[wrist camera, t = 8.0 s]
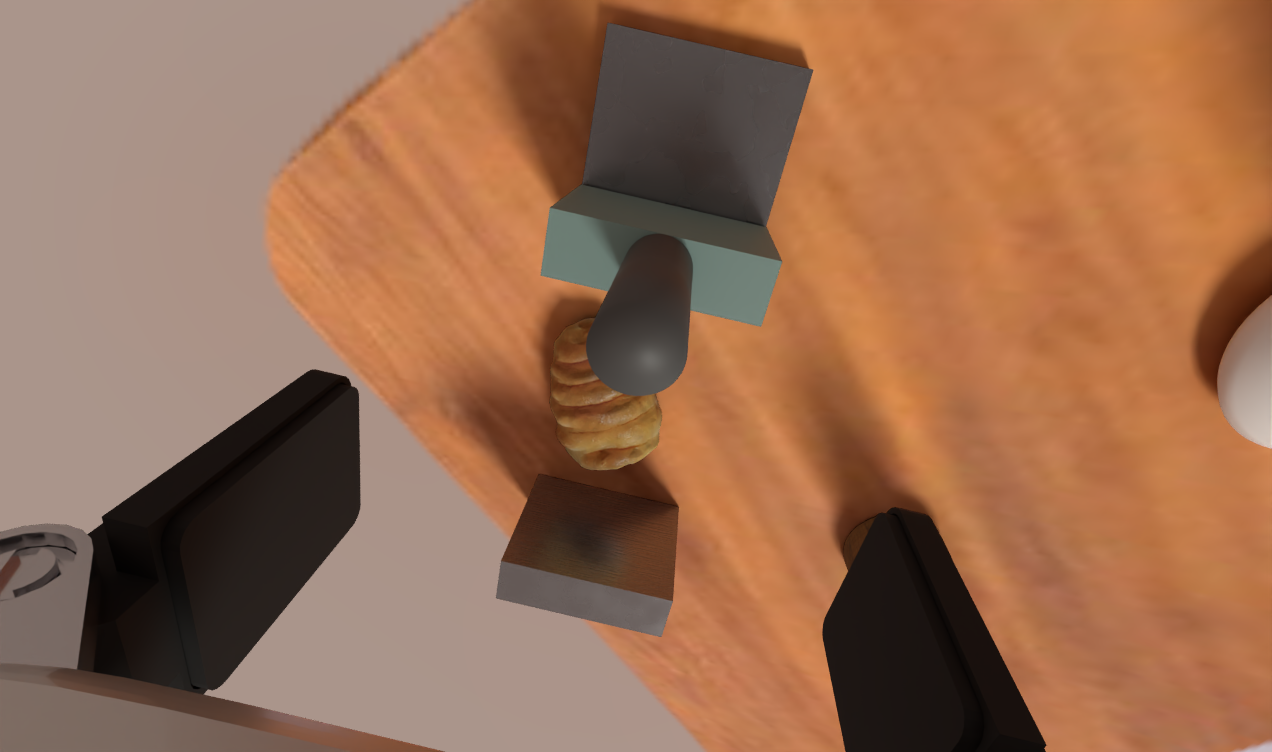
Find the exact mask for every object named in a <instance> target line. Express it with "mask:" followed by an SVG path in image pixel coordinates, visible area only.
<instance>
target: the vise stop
mask: <svg viewBox="0 0 1272 752" xmlns="http://www.w3.org/2000/svg"><path fill="white" fill-rule="evenodd" d="M678 512H679V507H678V506H673V505H669V504H665V503H661V502H656V501H652V500H648V499H644V498H639V497H635V496H631V495H626V494H622V493H618V492H614V491H609V490H605V489H601V488H596V487H592V486H588V485H584V484H579V483H575V482H571V481H567V480H562V479H558V478H554V477H549V476H545V475H541V474H539V475H538V477H537V479H536V482H535V484H534V486H533V489H532V491H531V493H530V496H529V498H528V500H527V502H526V505H525V507H524V509H523V512H522V514H521V516H520V519H519V521H518V523H517V525H516V528H515V530H514V532H513V535H512V537H511V539H510V541H509V544H508V546H507V549H506V551H505V553H504V555H503V558H502V560H501V565H500V573H499V580H498V587H497V595H496V598H497V599H501V600H506V601H510V602H514V603H518V604H523V605H527V606H531V607H535V608H539V609H544V610H548V611H552V612H556V613H561V614H565V615H569V616H573V617H578V618H582V619H586V620H590V621H595V622H599V623H603V624H607V625H612V626H616V627H620V628H624V629H629V630H633V631H637V632H641V633H646V634H650V635H654V636H658V637H661V636H662V633H663V630H664V627H665V624H666V621H667V618H668V615H669V611H670V608H671V605H672V602H673V591H674V575H675V559H676V543H677V527H678Z"/></svg>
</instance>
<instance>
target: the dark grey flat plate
mask: <svg viewBox="0 0 1272 752" xmlns="http://www.w3.org/2000/svg"><path fill="white" fill-rule="evenodd" d="M812 73H813V70H812V69H808V68H803V67H799V66H795V65H790V64H786V63H782V62H777V61H773V60H769V59H764V58H760V57H756V56H751V55H747V54H742V53H738V52H734V51H729V50H725V49H721V48H716V47H712V46H708V45H703V44H699V43H695V42H690V41H686V40H681V39H677V38H673V37H668V36H664V35H660V34H655V33H651V32H647V31H642V30H638V29H634V28H629V27H625V26H621V25H616V24H612V23H608V24H607V30H606V37H605V43H604V49H603V56H602V62H601V68H600V75H599V81H598V87H597V94H596V100H595V106H594V113H593V119H592V125H591V132H590V138H589V144H588V151H587V157H586V163H585V170H584V176H583V182H582V185H586V186H590V187H595V188H599V189H603V190H608V191H612V192H616V193H621V194H625V195H629V196H634V197H638V198H642V199H647V200H651V201H655V202H660V203H664V204H668V205H672V206H677V207H681V208H685V209H690V210H694V211H698V212H703V213H707V214H711V215H716V216H720V217H724V218H729V219H733V220H737V221H742V222H746V223H750V224H755V225H759V226H763V227H766V225H767V221H768V218H769V215H770V211H771V208H772V205H773V201H774V198H775V195H776V192H777V188H778V185H779V182H780V178H781V175H782V172H783V168H784V165H785V162H786V159H787V155H788V152H789V149H790V145H791V142H792V139H793V135H794V132H795V129H796V126H797V122H798V119H799V116H800V112H801V109H802V106H803V102H804V99H805V96H806V92H807V89H808V86H809V83H810V79H811V76H812Z"/></svg>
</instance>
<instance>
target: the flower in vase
mask: <svg viewBox="0 0 1272 752" xmlns="http://www.w3.org/2000/svg"><path fill="white" fill-rule="evenodd" d="M1217 389H1218V398H1219V403H1220V407H1221V409H1222V412H1223V414H1224V417H1225V418H1226V419H1227V421H1228V422H1229V424H1230V425H1231V426H1232V427H1233V428H1234V429H1235V430H1236V431H1237V432H1238V433H1239V434H1240V435H1242V436H1243V437H1245V438H1246V439H1248V440H1250V441H1252V442H1254V443H1256V444H1258V445H1261V446H1265V447H1268V448H1271V449H1272V295H1271V296H1270V297H1269V298H1267V299H1266V300H1265V301H1264V302H1263V303H1262V304H1260V305H1259V306H1258V307H1257V308H1256V309H1255V310H1254V311H1253V312H1252V313H1251V314H1250V315H1249V316H1248V317H1247V318H1246V319H1245V320H1244V322H1243V323H1242V324H1241V325H1240V327H1239V328H1238V329H1237V330H1236V332H1235V333H1234V335H1233V337H1232V338H1231V340H1230V341H1229V343H1228V345H1227V347H1226V349H1225V351H1224V354H1223V356H1222V359H1221V362H1220V365H1219V370H1218V376H1217Z"/></svg>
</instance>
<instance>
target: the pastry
mask: <svg viewBox="0 0 1272 752" xmlns="http://www.w3.org/2000/svg"><path fill="white" fill-rule="evenodd" d="M594 319H595V318H587V319H583V320H580V321H578V322H577V323H575V324H572V325H570V326H568V327H566V328H565V329H564V330H563V332H562V333H561V334H560V336H559V337H558V338H557V339H556V341H555V342H554V352H553V361H552V364H551V367H550V369H551V370H550V374H551V385H550V390H551V396H550V401H549V403H550V407H551V410H552V412H553V414H554V416H555V419H556V420H557V423H558V427H557V429H556V437H557V439H558V440H559V442H560V443H561V444H562V445H563V446H565V448H566V451H567V452H568V453H569V454H570V455H571V456H572V457H573V459H574V460H575V461H577V462H578V463H579V464H580V466H581V467H583V468H585V469H589V470H609V469H619V468H621V467H623V466H625V465H628V464H633V463H635V462H638V461H639V460H641V459H643V458H644V457H646V456H647V455H648V454H649V453H650V452H651V451H652V450H654V449H655V448H656V447H657V445H658V443H659V430H660V426H661V421H662V412H661V409H660V407H659V404H658V401H657V398H656V395H655V394H652V395H646V396H632V395H626V394H623V393H620V392H617V391H615V390H613V389H611V388H610V387H608V386H607V385H605V384H604V383H603V382H602V381H601V380H600V379H599V378H598V377H597V376H596V375H595V373H594V372H593V370H592V368H591V366H590V364H589V361H588V358H587V353H586V340H587V336H588V332H589V330H590V328H591V326H592V323H593V321H594Z"/></svg>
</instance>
